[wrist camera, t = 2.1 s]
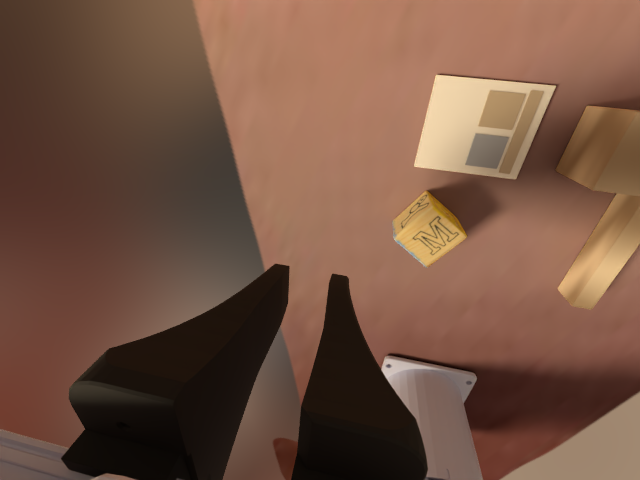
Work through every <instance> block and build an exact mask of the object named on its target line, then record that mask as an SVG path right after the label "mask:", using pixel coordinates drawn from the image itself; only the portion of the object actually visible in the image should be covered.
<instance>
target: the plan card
mask: <svg viewBox="0 0 640 480" xmlns="http://www.w3.org/2000/svg"><path fill="white" fill-rule="evenodd" d="M555 87H556V86H553V85H542V84H531V83H520V82H509V81H499V80H488V79H477V78H466V77H455V76H444V75H436V77H435V81H434V85H433V90H432V94H431V98H430V102H429V106H428V110H427V114H426V118H425V122H424V126H423V130H422V135H421V139H420V143H419V147H418V151H417V155H416V159H415V163H414V167H422V168H430V169H437V170H445V171H453V172H461V173H468V174H476V175H484V176H492V177H500V178H507V179H515V180H516V178H517V176H518V173H519V171H520V169H521V166H522V164H523V162H524V159H525V157H526V155H527V152H528V150H529V148H530V145H531V143H532V141H533V138H534V136H535V134H536V131H537V129H538V127H539V124H540V122H541V120H542V117H543V115H544V113H545V110H546V108H547V106H548V104H549V101H550V99H551V97H552V94H553V92H554V90H555Z"/></svg>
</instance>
